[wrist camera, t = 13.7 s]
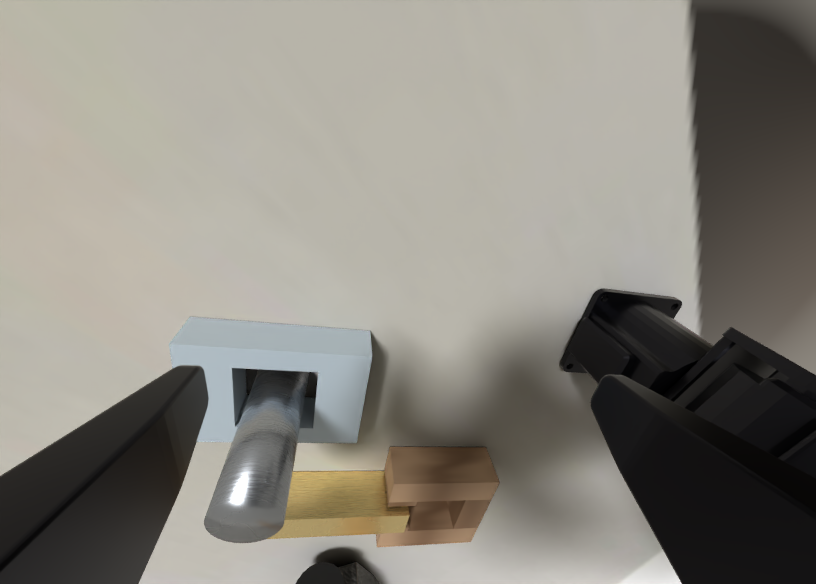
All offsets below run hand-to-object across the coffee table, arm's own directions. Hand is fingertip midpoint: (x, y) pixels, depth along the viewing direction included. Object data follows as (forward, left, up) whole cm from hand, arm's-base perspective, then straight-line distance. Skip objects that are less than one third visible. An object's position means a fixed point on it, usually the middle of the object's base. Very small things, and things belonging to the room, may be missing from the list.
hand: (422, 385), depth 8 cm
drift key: (0, +21, -12) cm, 24 cm away
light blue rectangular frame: (+5, +10, -12) cm, 16 cm away
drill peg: (+5, +10, -12) cm, 16 cm away
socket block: (-7, +21, -12) cm, 25 cm away
